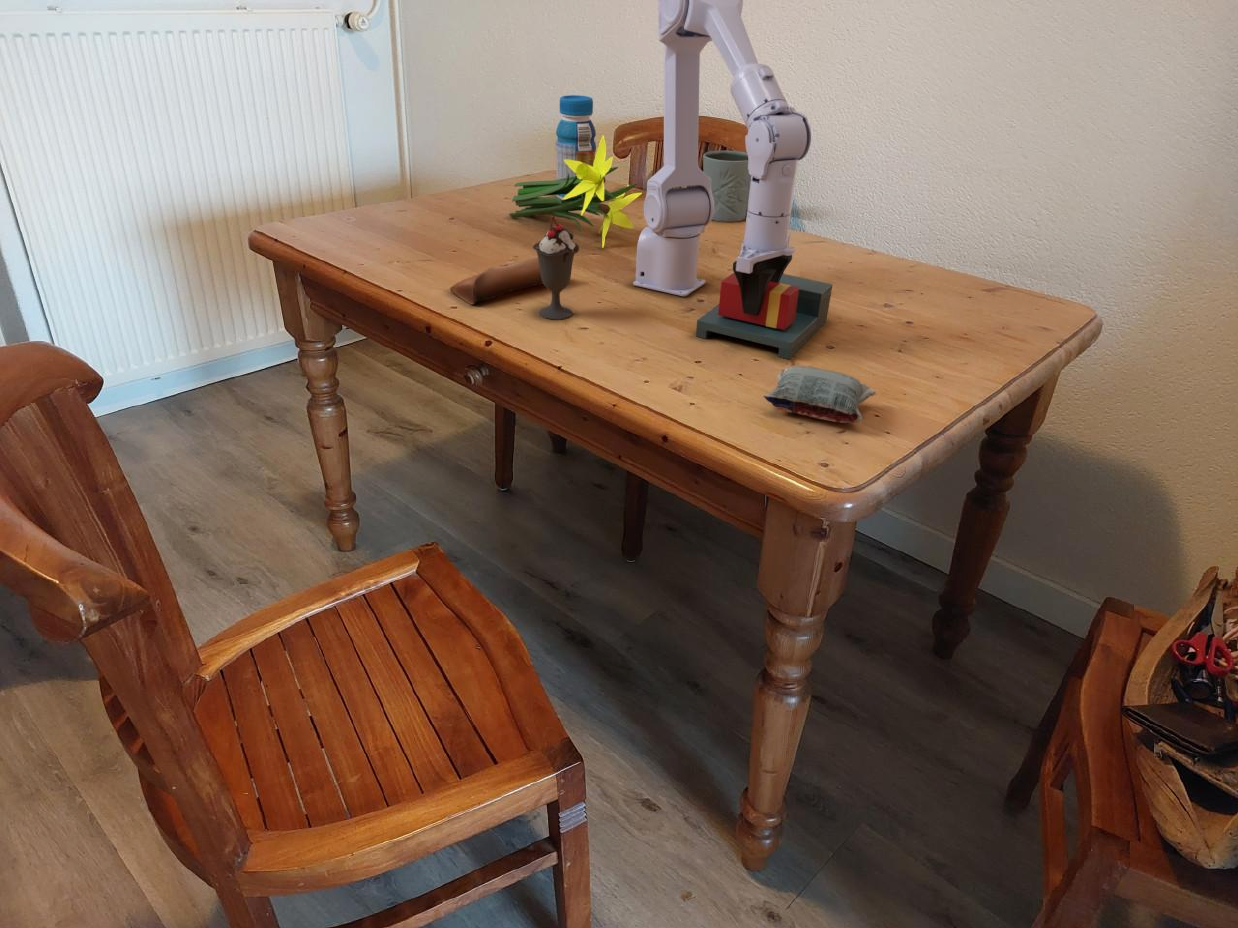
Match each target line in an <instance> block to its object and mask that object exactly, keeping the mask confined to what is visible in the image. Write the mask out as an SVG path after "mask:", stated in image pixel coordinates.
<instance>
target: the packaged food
mask: <svg viewBox="0 0 1238 928" xmlns="http://www.w3.org/2000/svg"><path fill="white" fill-rule="evenodd" d="M776 379H777V385H776V388H775V389H773V390H772V391H770V392H769V393H767V394H765V395H763V398H765V400H766V401H767V402H768V403H771V404H772V406H773V407H774V408H776V409H777V410H778V411H782V412H785V413H791V414H795V415H801V416H806V417H810V418H814V419H819V420H824V421H829V422H834V423H841V424H842V423H843V424H845V423H847V424H851V423H853V422H859V423H861V424H863V423H864V421H863V418H862V413H861V411H860V410H859V408H858V407H859V406H861V404H863V403H864V402H865V401H867V400H868V399H869V398H870V397H874V396H876V393H877V392H876V390H874V389H872V388H870V386H868V385H866V384H865V383H861V382H860V380H858V379H857V377H855V376H852V375H849V374H845V373H842V372H838V371H833V370H828V369H823V368H818V367H814V366H800V365H799V366H798V365H797V366H789V367H788V368H785V369H783V368H781V371H780V373H779V374H778V375H777V377H776Z"/></svg>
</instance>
